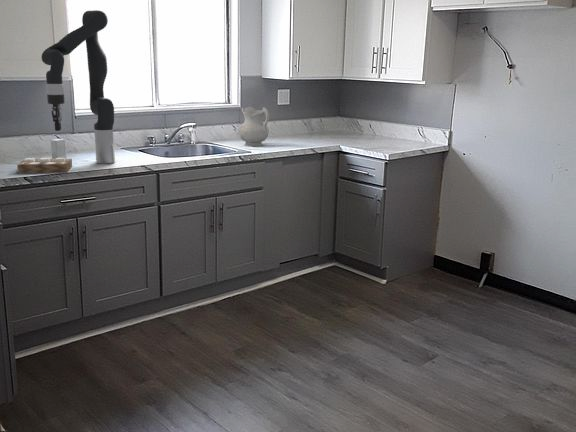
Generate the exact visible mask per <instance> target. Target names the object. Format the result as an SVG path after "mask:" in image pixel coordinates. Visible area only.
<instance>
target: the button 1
mask: <svg viewBox="0 0 576 432" xmlns="http://www.w3.org/2000/svg"><path fill="white" fill-rule="evenodd" d="M35 159H36V157H25V159H24V158H23V160H24V161H25V162H35Z"/></svg>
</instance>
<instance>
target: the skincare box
mask: <svg viewBox="0 0 576 432" xmlns="http://www.w3.org/2000/svg"><path fill="white" fill-rule="evenodd" d="M66 149H67V148H66V140H65V139H63V138H56V139H51V140H50V150H51V159H56V158H65V159H67V152H66Z"/></svg>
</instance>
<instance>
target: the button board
mask: <svg viewBox="0 0 576 432" xmlns="http://www.w3.org/2000/svg"><path fill="white" fill-rule="evenodd" d="M40 159H41V158H35V162H25V161H24V159H23V160H22V161H20V162H19V163H18V164H16V165H17V173H18V174H43V173H44V174H46V173H47V174H49V173H50V174H51V173H54V174H55V173H56V174H57V173H61V174H62V173H68V172H69V171H71V169H72V167H73V160H72V159H73V158H66V161H65V162H56V161H55V159H52V158H50V162H40Z"/></svg>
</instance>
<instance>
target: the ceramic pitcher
mask: <svg viewBox="0 0 576 432" xmlns="http://www.w3.org/2000/svg"><path fill="white" fill-rule="evenodd" d="M261 108H262V110H258V109H257V110H256V108H255V107H252V106H249V105H248V106H246V107H245V108H243V107H241V111H242V114H243V117H244V121H243V123H242V124H240V126H239V127H238V130H237V131H238V136H239V137H240V140H242V142H245V143H244V146H247V147H261V146H262V147H263V142H265V141H266V140H267V138H268V136H269V130H270V129H269V127H268V123H269V122H270V121H269V120H270V114H269V110H268V109H269V108H268V107H266V106H264V107H263V106H262V107H261ZM264 114H265V120H264V121H263V117H264Z"/></svg>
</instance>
